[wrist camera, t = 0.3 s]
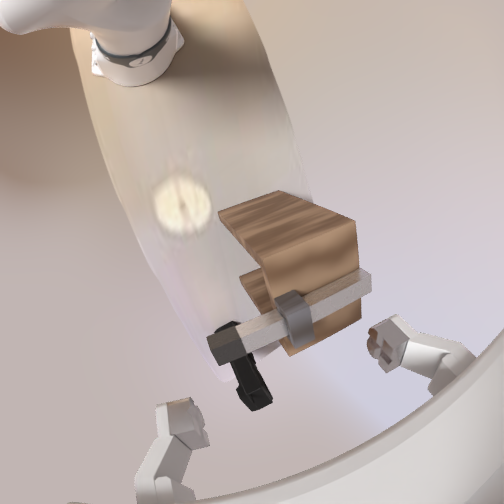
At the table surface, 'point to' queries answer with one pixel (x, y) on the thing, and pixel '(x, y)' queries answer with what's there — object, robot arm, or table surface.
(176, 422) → the robot arm
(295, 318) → the walnut shelf stand
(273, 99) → the table surface
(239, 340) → the steel pull bar
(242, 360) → the portable radio
